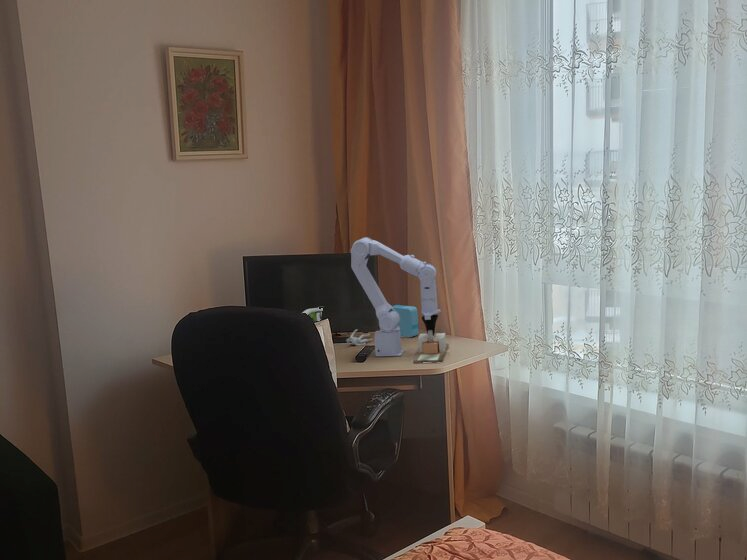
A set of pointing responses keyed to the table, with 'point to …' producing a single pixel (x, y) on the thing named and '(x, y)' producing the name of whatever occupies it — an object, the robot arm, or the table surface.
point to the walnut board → (430, 357)
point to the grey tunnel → (438, 337)
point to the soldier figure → (358, 339)
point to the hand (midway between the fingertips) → (431, 335)
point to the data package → (407, 320)
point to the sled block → (430, 345)
